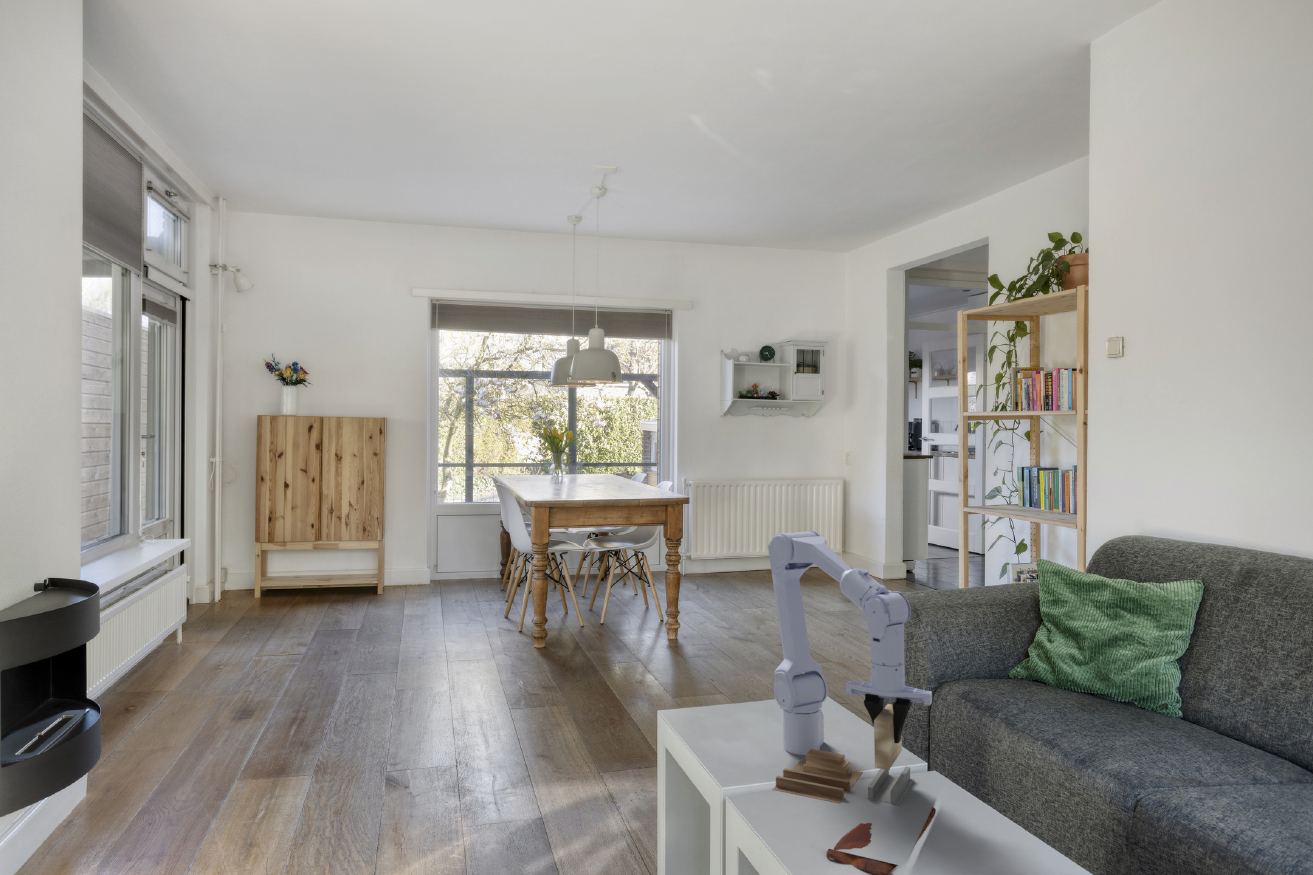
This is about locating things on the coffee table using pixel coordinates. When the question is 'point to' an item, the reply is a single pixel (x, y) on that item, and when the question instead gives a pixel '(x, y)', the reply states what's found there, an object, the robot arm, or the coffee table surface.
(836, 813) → the coffee table surface
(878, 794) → the grey channel block
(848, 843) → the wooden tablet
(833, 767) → the offcut stack
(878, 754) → the birch panel
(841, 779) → the walnut rack
